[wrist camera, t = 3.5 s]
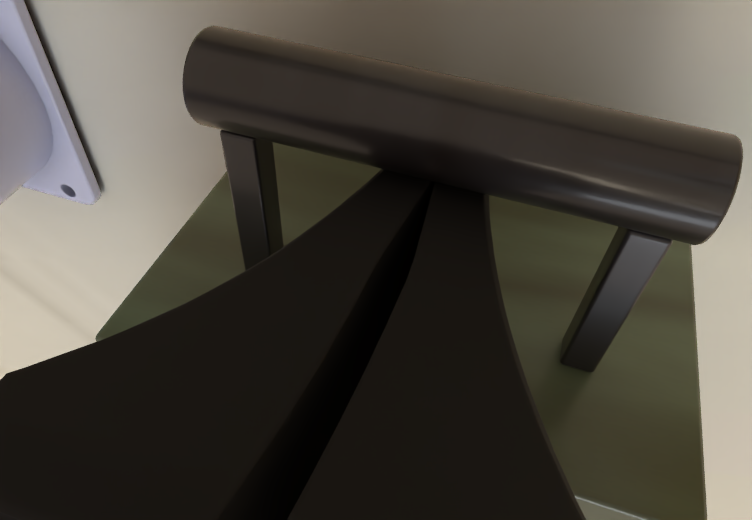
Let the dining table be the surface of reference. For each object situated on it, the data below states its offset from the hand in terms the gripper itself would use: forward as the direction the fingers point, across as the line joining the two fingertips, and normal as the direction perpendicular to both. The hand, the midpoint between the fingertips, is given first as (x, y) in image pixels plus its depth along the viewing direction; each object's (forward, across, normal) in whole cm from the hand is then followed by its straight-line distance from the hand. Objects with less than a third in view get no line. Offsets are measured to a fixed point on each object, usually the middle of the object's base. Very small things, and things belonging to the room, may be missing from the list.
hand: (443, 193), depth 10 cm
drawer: (+3, 0, +6) cm, 7 cm away
